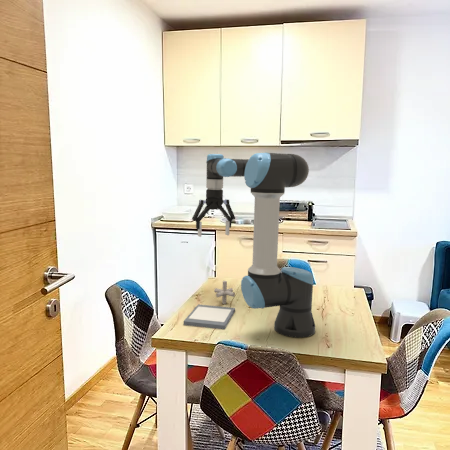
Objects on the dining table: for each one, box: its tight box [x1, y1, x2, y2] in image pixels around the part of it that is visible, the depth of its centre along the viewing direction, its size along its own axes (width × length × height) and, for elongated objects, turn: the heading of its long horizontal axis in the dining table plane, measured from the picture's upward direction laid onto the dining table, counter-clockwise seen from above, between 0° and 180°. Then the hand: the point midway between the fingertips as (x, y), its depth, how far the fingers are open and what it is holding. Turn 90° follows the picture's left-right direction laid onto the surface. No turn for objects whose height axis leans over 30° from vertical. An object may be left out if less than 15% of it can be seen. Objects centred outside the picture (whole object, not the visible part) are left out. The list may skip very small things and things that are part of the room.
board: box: [183, 304, 236, 330], centre depth 169 cm, size 20×16×2 cm
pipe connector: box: [213, 280, 236, 305], centre depth 186 cm, size 10×10×10 cm
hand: (213, 235), depth 195 cm, fingers open, 13 cm apart
